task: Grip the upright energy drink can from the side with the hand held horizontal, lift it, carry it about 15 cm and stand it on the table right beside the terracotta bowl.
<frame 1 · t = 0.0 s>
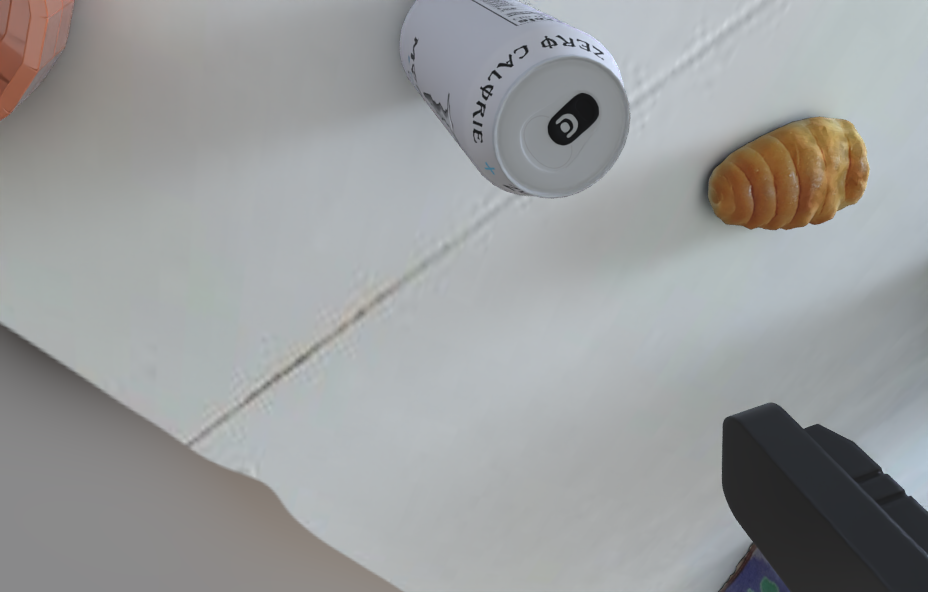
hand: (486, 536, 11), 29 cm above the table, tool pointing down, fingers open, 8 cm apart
energy drink can: (453, 40, 36), on the table
pastry: (776, 171, 45), on the table
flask: (744, 565, 67), on the table
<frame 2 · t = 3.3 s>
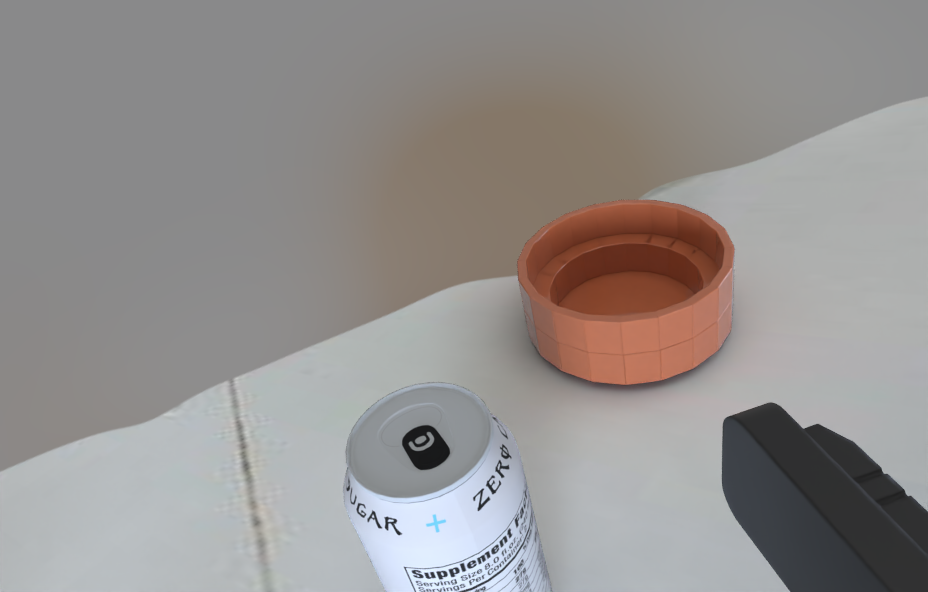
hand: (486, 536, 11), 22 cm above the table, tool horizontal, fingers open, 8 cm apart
bowl: (627, 320, 48), on the table
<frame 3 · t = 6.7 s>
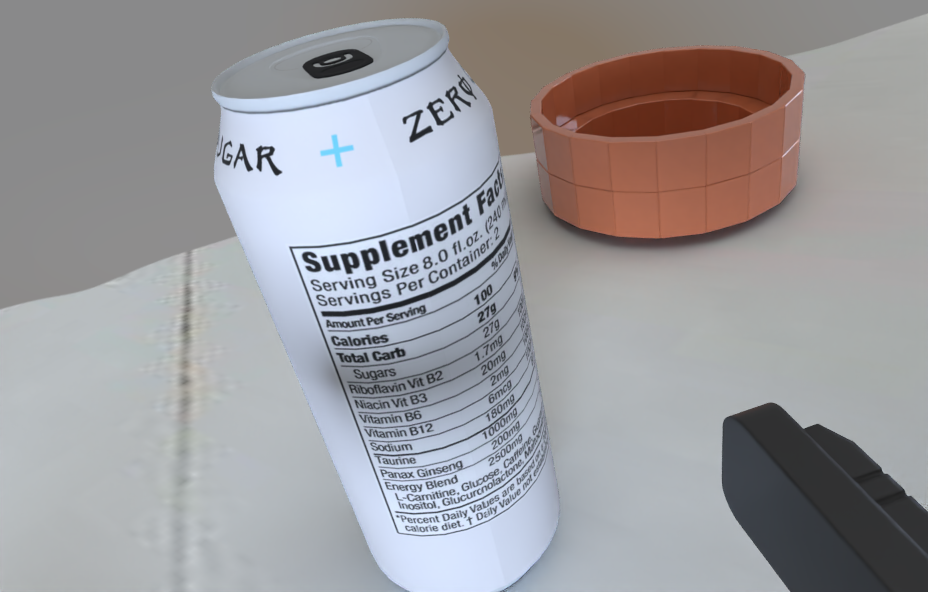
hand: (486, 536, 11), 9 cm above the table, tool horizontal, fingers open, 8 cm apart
energy drink can: (469, 533, 22), on the table
bowl: (663, 185, 39), on the table
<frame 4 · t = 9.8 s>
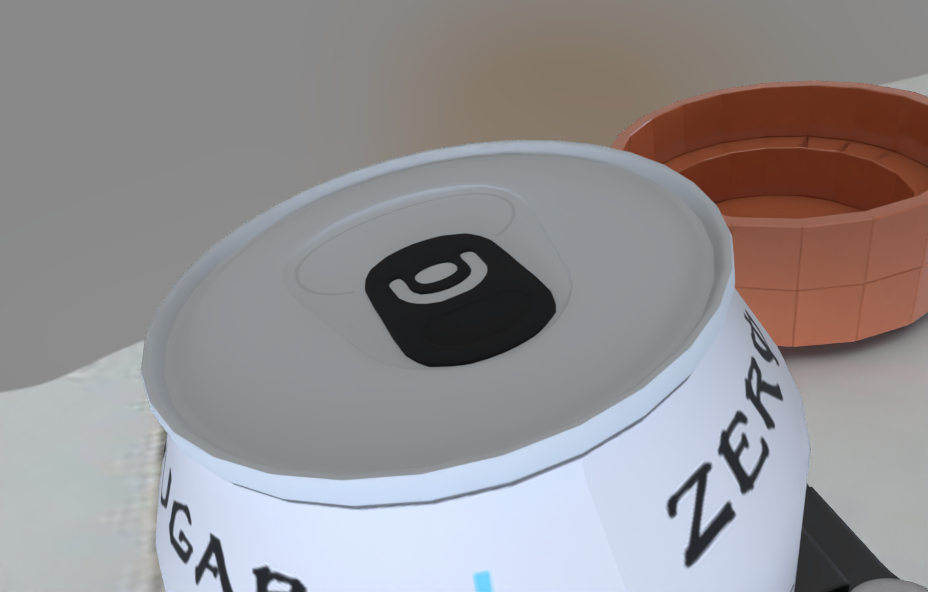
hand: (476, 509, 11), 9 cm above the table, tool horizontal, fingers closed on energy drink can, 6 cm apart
bowl: (772, 260, 30), on the table
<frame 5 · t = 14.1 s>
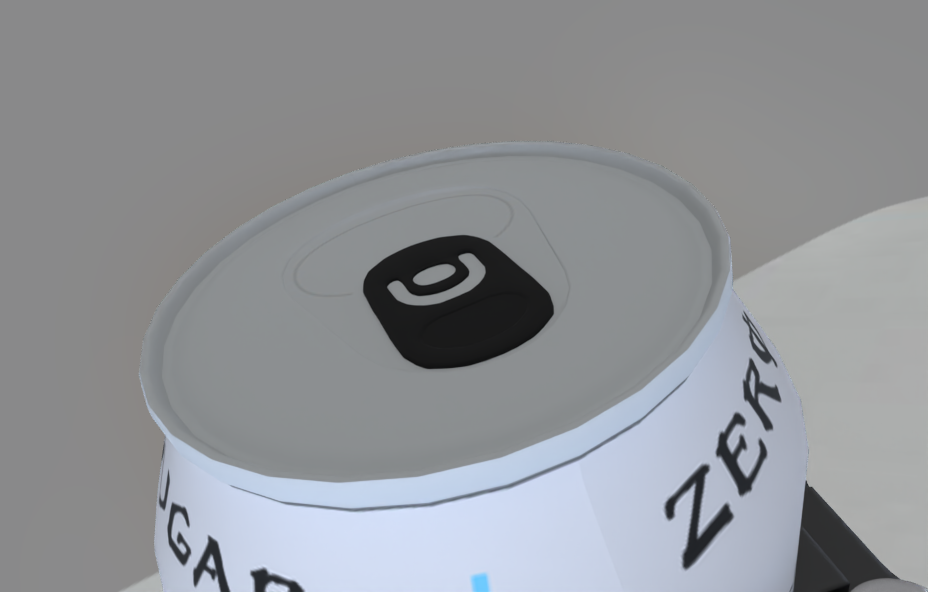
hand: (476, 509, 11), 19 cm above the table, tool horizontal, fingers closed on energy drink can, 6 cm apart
when the fingers open (9 cm above the table, at t = 18.3 s): energy drink can stays where it is, on the table.
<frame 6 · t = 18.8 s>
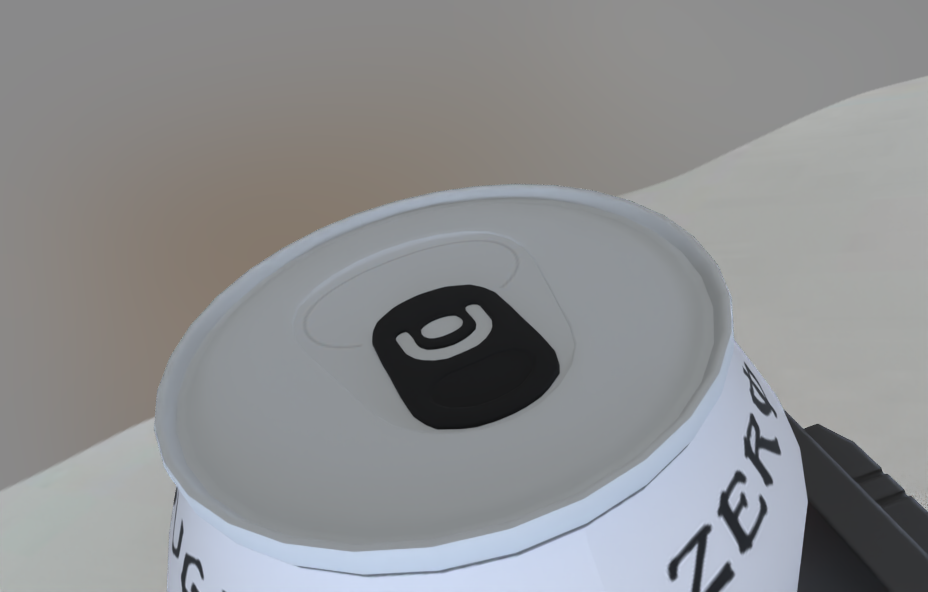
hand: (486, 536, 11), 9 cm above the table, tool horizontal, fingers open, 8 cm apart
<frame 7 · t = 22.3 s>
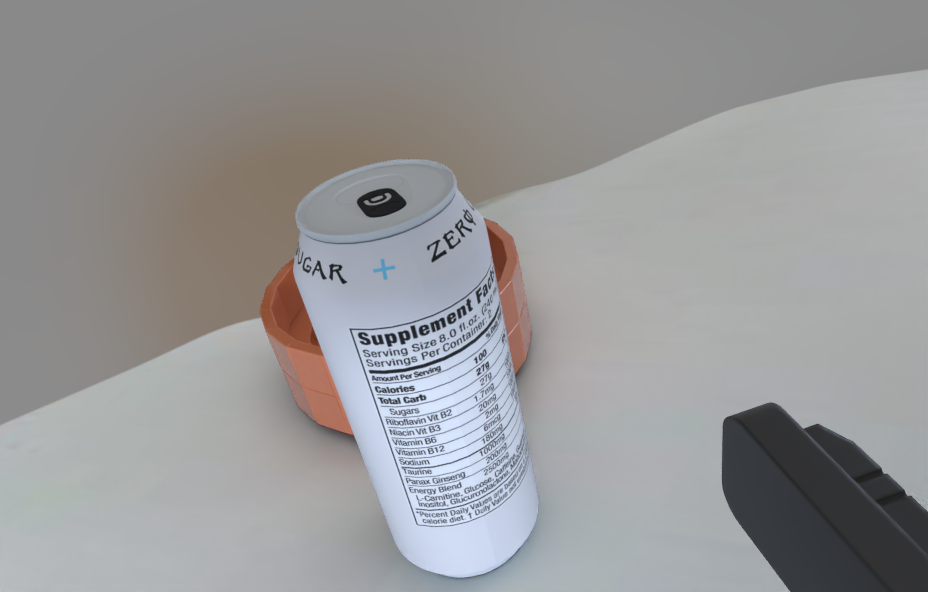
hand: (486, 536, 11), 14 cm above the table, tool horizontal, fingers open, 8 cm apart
energy drink can: (469, 527, 29), on the table
bowl: (412, 356, 39), on the table
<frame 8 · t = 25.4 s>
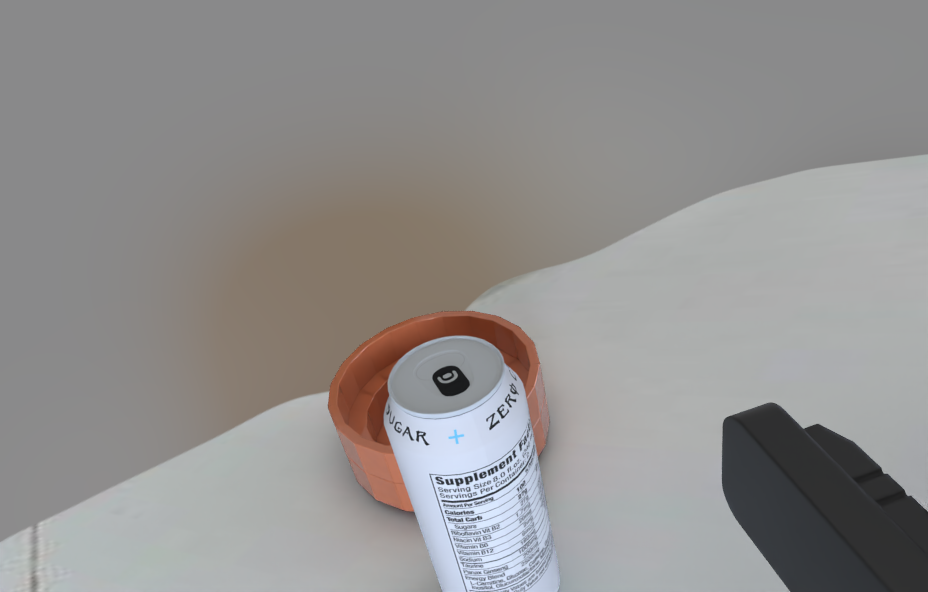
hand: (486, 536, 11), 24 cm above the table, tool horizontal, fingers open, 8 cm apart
bowl: (450, 436, 47), on the table
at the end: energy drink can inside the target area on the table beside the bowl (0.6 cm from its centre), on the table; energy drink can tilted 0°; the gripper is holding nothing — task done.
